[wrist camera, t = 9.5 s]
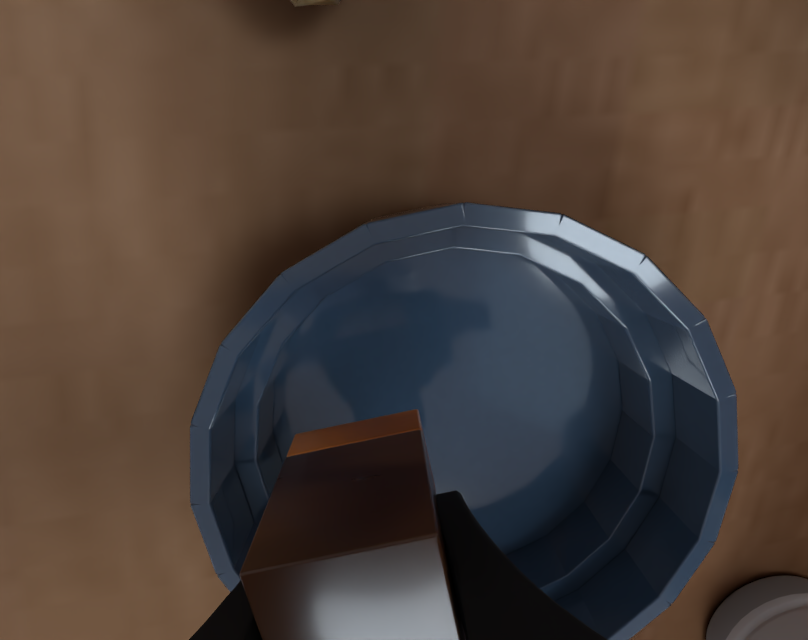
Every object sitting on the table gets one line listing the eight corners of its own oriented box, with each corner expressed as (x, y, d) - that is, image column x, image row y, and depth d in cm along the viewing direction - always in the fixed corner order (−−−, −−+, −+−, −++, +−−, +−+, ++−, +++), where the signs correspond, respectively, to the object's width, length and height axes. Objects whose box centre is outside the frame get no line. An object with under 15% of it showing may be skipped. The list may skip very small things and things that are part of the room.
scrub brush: (341, 592, 14) (317, 798, 9) (294, 433, 13) (237, 574, 8) (453, 570, 14) (488, 764, 9) (418, 407, 13) (438, 534, 8)
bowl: (302, 611, 20) (276, 737, 16) (188, 257, 16) (104, 278, 12) (658, 540, 20) (744, 646, 15) (628, 163, 16) (731, 145, 11)
